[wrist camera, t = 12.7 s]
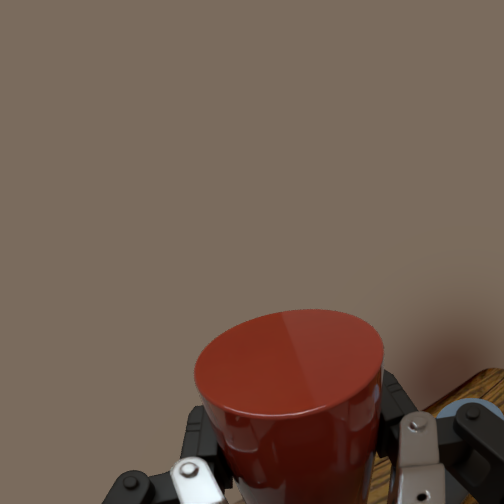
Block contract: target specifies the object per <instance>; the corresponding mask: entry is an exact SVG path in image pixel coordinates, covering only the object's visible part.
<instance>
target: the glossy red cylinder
mask: <svg viewBox="0 0 504 504" xmlns="http://www.w3.org/2000/svg"><path fill="white" fill-rule="evenodd" d="M383 375H384V345H383V342H382V339H381V337H380V335H379V334H378V332H377V331H376V330H375V329H374V328H373V327H372V326H371V325H370V324H369V323H367V322H366V321H364V320H362V319H360V318H358V317H355V316H353V315H350V314H347V313H343V312H338V311H331V310H321V309H303V310H291V311H284V312H278V313H273V314H269V315H265V316H261V317H258V318H255V319H252V320H249V321H246V322H244V323H241V324H239V325H237V326H235V327H233V328H231V329H229V330H227V331H225V332H224V333H222V334H220V335H219V336H218V337H216V338H215V339H214V340H212V341H211V343H209V344H208V345H207V346H206V347H205V348H204V350H203V351H202V352H201V354H200V355H199V357H198V359H197V361H196V364H195V368H194V381H195V384H196V388H197V390H198V393H199V396H200V398H201V401H202V404H203V406H204V409H205V412H206V414H207V417H208V419H209V422H210V424H211V427H212V429H213V432H214V434H215V437H216V439H217V442H218V444H219V446H220V449H221V451H222V453H223V456H224V458H225V460H226V463H227V465H228V467H229V469H230V472H231V474H232V476H233V478H234V480H235V482H236V484H237V487H238V489H239V491H240V493H241V495H242V497H243V499H244V501H245V503H246V504H367V501H368V496H369V491H370V485H371V480H372V474H373V468H374V462H375V456H376V449H377V441H378V433H379V424H380V415H381V404H382V391H383Z"/></svg>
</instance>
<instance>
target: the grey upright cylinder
mask: <svg viewBox="0 0 504 504" xmlns="http://www.w3.org/2000/svg"><path fill="white" fill-rule="evenodd" d="M470 402H475V403H480V404H482V405H484V406H485V407H486V408H488V409H489V410H490V411H492V412H493V413H494V414H496V415H497V416H498V417H500V418H501V419H502V420H504V416H503V414H502V412H501V411H500V409H499V408H498V407H497V406H495V405H494V404H492V403H491V402H488V401H486V400H483V399H477V398H466V399H461V400H457V401H455V402H452V403H450V404H449V405H447V406H446V407H445V408H443V409H442V410H441V411H440V413H439V414H438V415H437V417H436V418H443V417H449V416H455V415H456V411H457V410H458V408H459V407H460V406H462V405H464V404H466V403H470ZM469 494H470V493H469V492H468V491H467V490H466V489H465V488H464V487H463V486H462V485H461V484H460V483H459V482H458V481H457V480H456V479H455V478H454V477H453V476H452V475H451V474H450V473H449V472H448V471H447V470H446V469H445V504H463V502H464V501H465V499H466V498H467V497H468V495H469Z"/></svg>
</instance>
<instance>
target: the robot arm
mask: <svg viewBox="0 0 504 504" xmlns="http://www.w3.org/2000/svg"><path fill="white" fill-rule="evenodd" d="M376 451H377V453H378V455H379V457H380V458H383V457H386V456H388V457H389V459H390V461H391V463H392V465H391V474H390V483H389V492H388V500H387V504H445V469H446V470H447V471H448V472H449V473H450V474H451V475H452V476H453V477H454V478H455V479H456V480H457V481H458V482H459V483H460V484H461V485H462V486H463V487H464V488H465V489H466V490H467V491H468V492H469V493H470V494H471V495H472V496H473V497H474V498H475V499H476V500H477V501H478V502H479V503H480V504H504V420H502V419H501V418H500V417H498V416H497V415H496V414H494V413H493V412H492V411H490V410H489V409H488V408H486V407H485V406H484V405H482V404H480V403H475V402H470V403H466V404H464V405H462V406H460V407H459V408H458V410H457V411H456V415H455V416H449V417H443V418H434V417H433V416H432V415H431V414H429V413H427V412H423V411H418V410H417V408H416V407H415V405H414V404H413V402H412V401H411V400H410V398H409V397H408V395H407V394H406V392H405V391H404V390H403V388H402V387H401V385H400V384H399V383H398V381H397V379H396V378H395V377H394V375H393V374H391V373H389V372H388V371H386V370H384V375H383V391H382V404H381V415H380V424H379V433H378V441H377V449H376ZM231 488H233V476H232V474H231V472H230V469H229V467H228V465H227V463H226V460H225V458H224V456H223V453H222V451H221V449H220V446H219V444H218V442H217V439H216V437H215V434H214V432H213V429H212V427H211V424H210V422H209V419H208V417H207V414H206V412H205V409H204V406H203V405H202V406H195V407H194V408H193V410H192V411H191V413H190V414H189V416H188V421H187V426H186V433H185V436H184V441H183V446H182V451H181V456H180V460H178V461H177V462H176V463H175V464H174V465H173V466H172V468H171V470H170V471H168V472H166V473H162V474H158V475H154V476H149V477H148V476H147V475H146V474H145V473H143V472H141V471H137V470H132V471H127V472H125V473H123V474H121V475H120V476H119V477H118V478H117V479H116V481H115V483H114V484H113V486H112V488H111V489H110V491H109V493H108V494H107V496H106V498H105V499H104V501H103V502H102V504H229V503H228V501H227V500H226V498H225V496H224V492H225V489H231Z"/></svg>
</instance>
